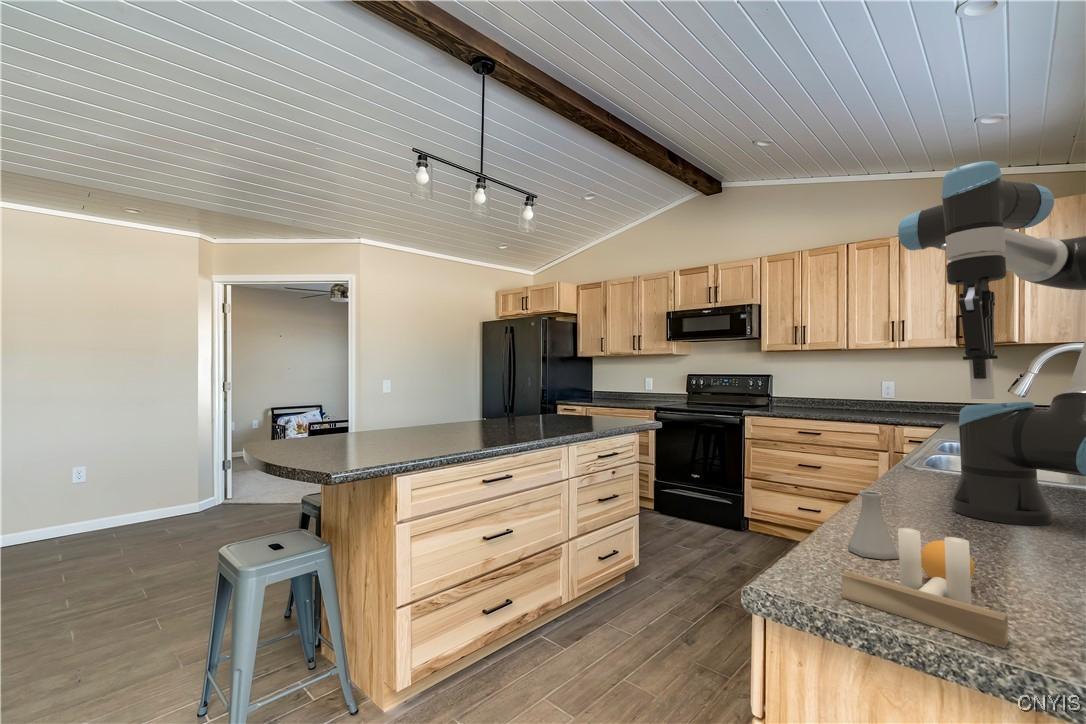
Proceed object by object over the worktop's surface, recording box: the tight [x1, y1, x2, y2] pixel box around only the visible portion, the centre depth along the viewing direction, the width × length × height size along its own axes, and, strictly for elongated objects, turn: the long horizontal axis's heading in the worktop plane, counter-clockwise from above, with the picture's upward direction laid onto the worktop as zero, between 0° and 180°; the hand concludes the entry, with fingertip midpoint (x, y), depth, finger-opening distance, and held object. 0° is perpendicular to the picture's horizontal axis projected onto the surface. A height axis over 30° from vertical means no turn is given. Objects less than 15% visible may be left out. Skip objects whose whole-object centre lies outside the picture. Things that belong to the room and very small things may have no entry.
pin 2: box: [944, 536, 972, 605], centre depth 63 cm, size 2×2×8 cm
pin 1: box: [897, 527, 923, 590], centre depth 67 cm, size 2×2×8 cm
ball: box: [921, 539, 976, 580], centre depth 70 cm, size 6×6×6 cm
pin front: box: [919, 577, 947, 598], centre depth 64 cm, size 2×2×8 cm
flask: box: [847, 490, 899, 560], centre depth 82 cm, size 7×7×10 cm
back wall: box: [841, 570, 1009, 649], centre depth 60 cm, size 2×16×3 cm, turn 38°
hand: (982, 398), depth 83 cm, fingers closed
